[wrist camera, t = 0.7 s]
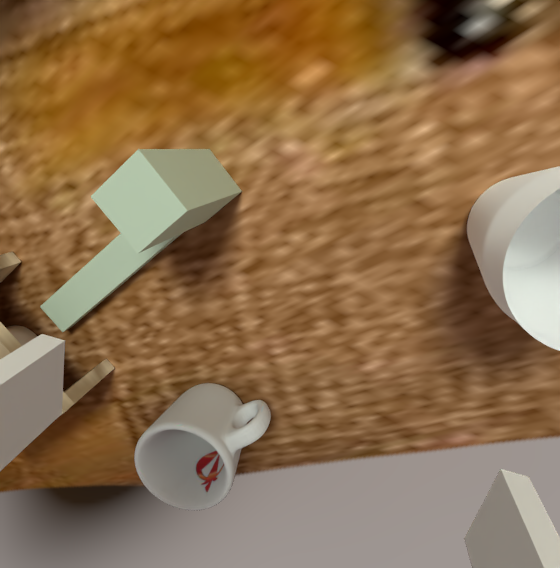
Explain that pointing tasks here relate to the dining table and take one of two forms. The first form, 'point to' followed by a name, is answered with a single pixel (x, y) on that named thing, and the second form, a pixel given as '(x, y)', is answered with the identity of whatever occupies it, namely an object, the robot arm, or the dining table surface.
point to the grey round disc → (21, 333)
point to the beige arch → (6, 343)
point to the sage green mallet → (144, 221)
